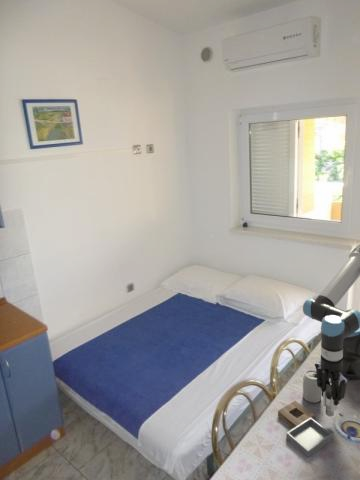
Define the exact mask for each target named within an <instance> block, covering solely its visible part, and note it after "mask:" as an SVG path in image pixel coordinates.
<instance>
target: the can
mask: <svg viewBox="0 0 360 480" xmlns="http://www.w3.org/2000/svg"><path fill="white" fill-rule="evenodd" d="M302 378H303V381H302V397H303V398H304V399H305V401H307V402H309V403H312V404H313V403H314V404H316V403H318V402H320V401H321V400H322V390H321V388H320V387H318V386H317V374H316V370H313V369H309V370H307V371H305V372H304V373H303V376H302Z"/></svg>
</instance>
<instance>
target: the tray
mask: <svg viewBox="0 0 360 480" xmlns="http://www.w3.org/2000/svg"><path fill="white" fill-rule="evenodd" d="M333 436H334V435H333V433H332V432H331V431H329V430H328V429H327V428H325V427H324V426H323V425H322V424H321V423H319V422H318V421H317V420H316V419H315V420H314V419H312V418H311V417H310V418H309V419H307V420H305V421H304V422H302V423H301V424H299V425H298V426H296V427H295V428H291V429H290V430H288V431H287V432H286V436H285V437H286V439H287V440H288V442H290V443H291V444H293V446H295V447H296V448H297V449H298V450H299V451H300V452H301V453H302V454H304V455H305V456H306V457H307V458H309V457H310V456H311V455H313V454H314V453H315V452H317V451H318V450H320V449H322V447H324V446H326V445H327V444H329V443H330V442H331V441H333Z"/></svg>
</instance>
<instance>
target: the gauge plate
mask: <svg viewBox="0 0 360 480" xmlns="http://www.w3.org/2000/svg"><path fill="white" fill-rule="evenodd" d="M294 414H297V415H298V417H295V416H294ZM277 416H278V418H280V419H282V420H283V421H284V422H285V423H286V424H287V425H289V426H290V427H291V429H293V428H295V427H296V426H298V425H299V424H301V423H302V422H304V421H305V420H307V419H309V418H310V417H311V418H312V419H314V420H315V421H316V414H314V413H313V412H312V411H310V410H309V409H308V408H306V407H305V406H304V405H303V404H301V403H300V402H298V401H297V400H293V401H292V402H291V403H289V404H287V405H285V406H283V407H281V408H280V409H278V411H277Z"/></svg>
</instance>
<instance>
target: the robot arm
mask: <svg viewBox="0 0 360 480" xmlns="http://www.w3.org/2000/svg"><path fill="white" fill-rule="evenodd" d="M349 253H350V254H348V260H346V262H345V263H344V264H343V266H342V267H341V268H340V269H339V270H338V271H337V273H336V274H335V275H334V276H333V278H331V280H330V281H329V282H328V284H327V285H326V286H325V287H324V289H323V290H322V291H321V292H320V293H319V295H317V297H316V298H311V297H310V298H308V299H306V300H305V301H304V302H303V305H302V312H303V314H304V315H305V316H306V317H309V318H310V319H312V320H315V321H318V322H320V323H321V326H320V330H321V334H320V335H321V342H320V361H318V362H316V363H315V364H314V367H315V371H316V374H317V386H318V387H320V388H321V390H322V392H321V398H322V397H323V398H322V406H323V407H325V408H326V383H327V382H329V381H331V382H332V390H333V397H331V412H334V413H335V411H337V410H338V405H339V403H340V401H341V400H342V399H344V398H345V396H346V389H347V383H348V382H349V380H356V381H357V380H360V311H359V310H357V309H355V308H350V309H346V310H343V309H341V308H338V307H336V306H337V305H338V303H340V302H341V300H342V298H344V296H345V295H346V294H347V292H348V291H349V290H350V288H352V286H353V285H354V283H355V282H357V280H358V278H359V277H360V244H359V245H357V246H356V247H354V248H353V250H352V251H351V252H349Z"/></svg>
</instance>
